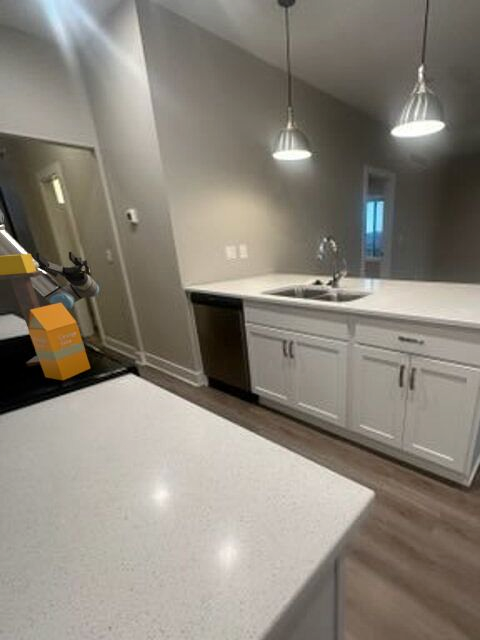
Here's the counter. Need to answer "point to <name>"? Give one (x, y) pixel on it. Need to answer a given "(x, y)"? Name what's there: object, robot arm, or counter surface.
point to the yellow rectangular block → (17, 264)
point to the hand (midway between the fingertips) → (54, 255)
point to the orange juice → (57, 342)
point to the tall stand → (25, 298)
